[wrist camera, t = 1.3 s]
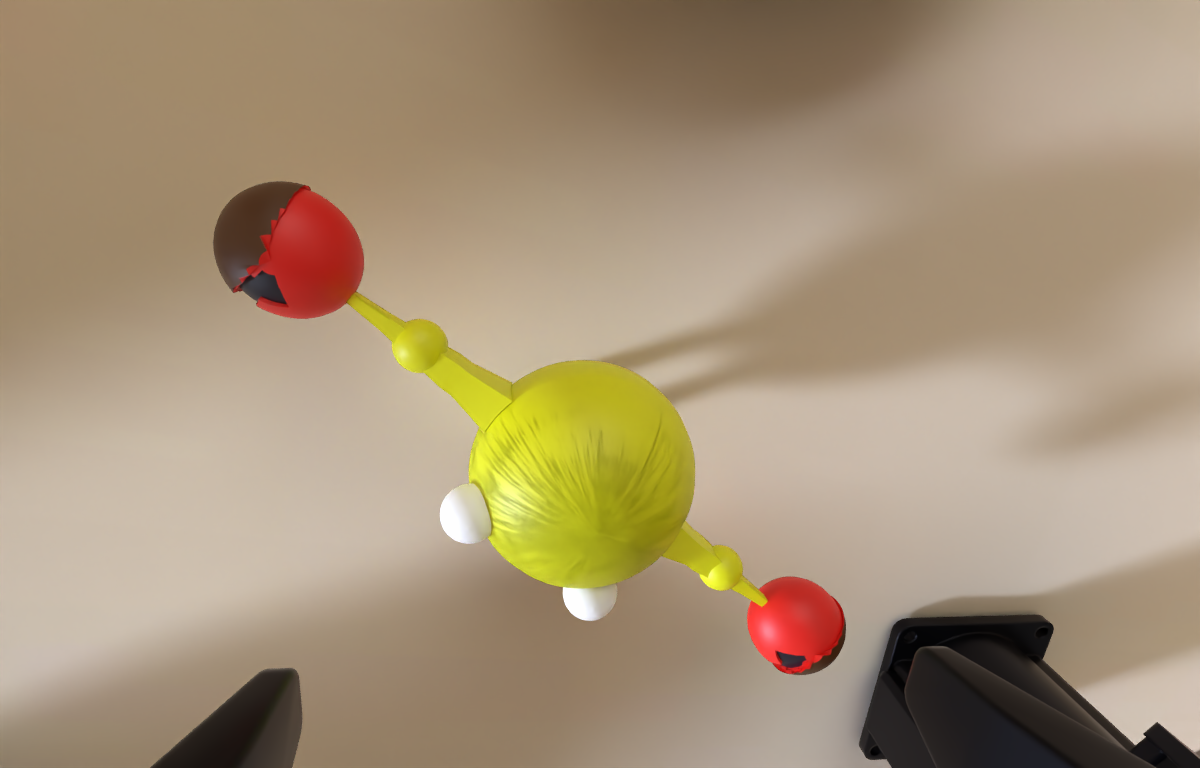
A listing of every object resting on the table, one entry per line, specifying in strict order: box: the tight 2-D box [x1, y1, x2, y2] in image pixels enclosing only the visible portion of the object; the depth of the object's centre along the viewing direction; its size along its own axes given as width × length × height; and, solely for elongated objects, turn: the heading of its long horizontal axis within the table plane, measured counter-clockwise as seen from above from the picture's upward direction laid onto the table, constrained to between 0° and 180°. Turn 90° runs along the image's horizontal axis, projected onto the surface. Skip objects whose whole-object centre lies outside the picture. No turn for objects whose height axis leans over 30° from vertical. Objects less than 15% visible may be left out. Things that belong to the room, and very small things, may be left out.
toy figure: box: [213, 182, 846, 675], centre depth 15 cm, size 18×6×7 cm, turn 48°
